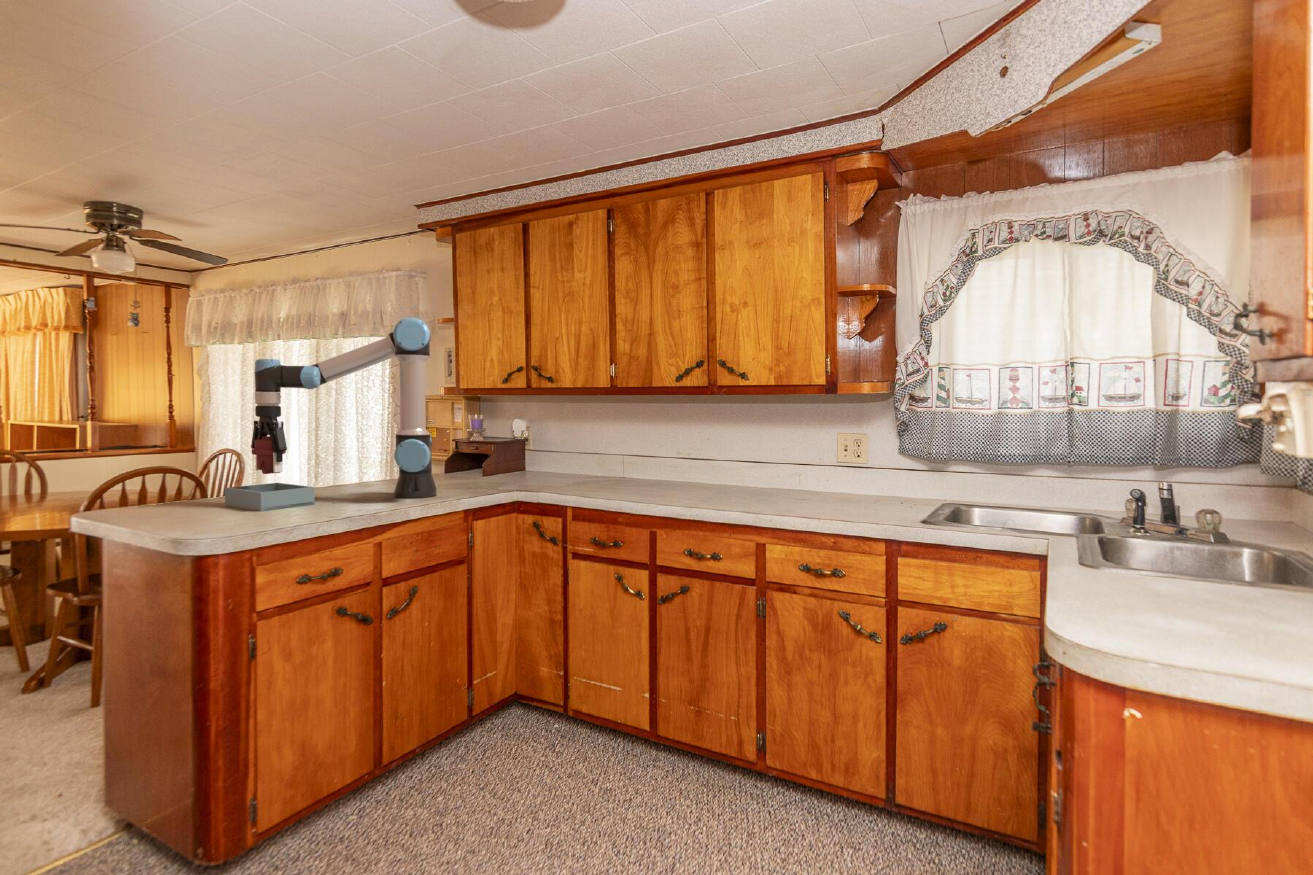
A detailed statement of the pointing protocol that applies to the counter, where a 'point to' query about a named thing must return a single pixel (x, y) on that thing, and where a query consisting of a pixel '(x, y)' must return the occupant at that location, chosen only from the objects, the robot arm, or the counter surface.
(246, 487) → the tote
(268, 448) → the mechanical component
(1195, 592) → the counter surface
